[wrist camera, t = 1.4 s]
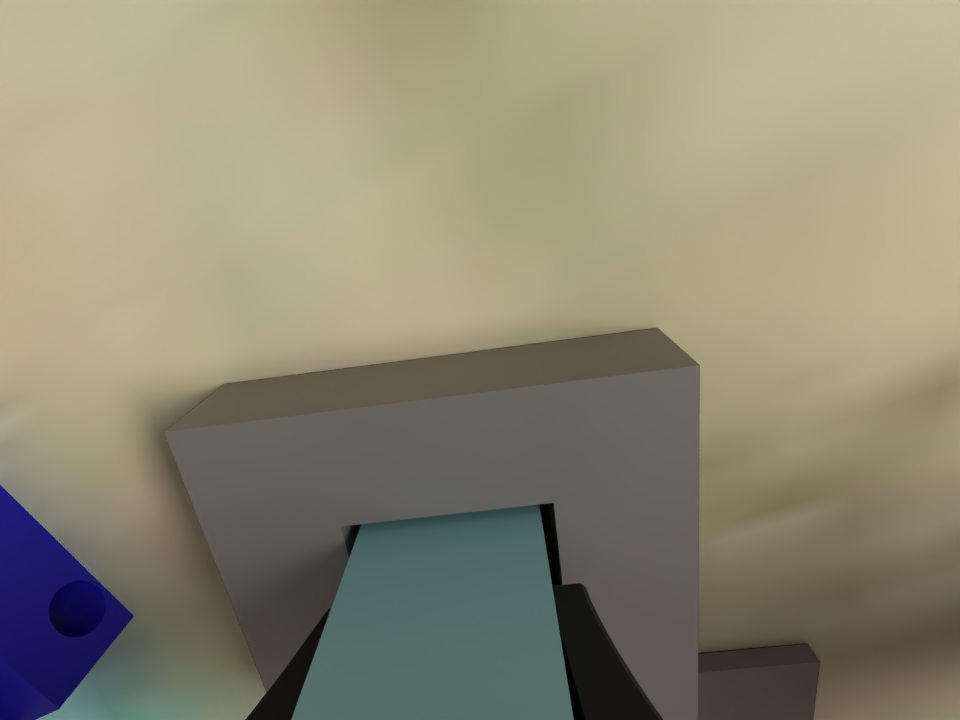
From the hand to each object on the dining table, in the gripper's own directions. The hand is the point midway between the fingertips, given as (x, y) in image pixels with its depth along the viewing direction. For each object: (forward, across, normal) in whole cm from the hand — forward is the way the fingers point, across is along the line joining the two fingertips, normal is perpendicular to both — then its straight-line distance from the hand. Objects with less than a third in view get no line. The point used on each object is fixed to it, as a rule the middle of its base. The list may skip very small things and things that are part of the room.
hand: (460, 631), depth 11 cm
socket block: (+3, 0, 0) cm, 3 cm away
